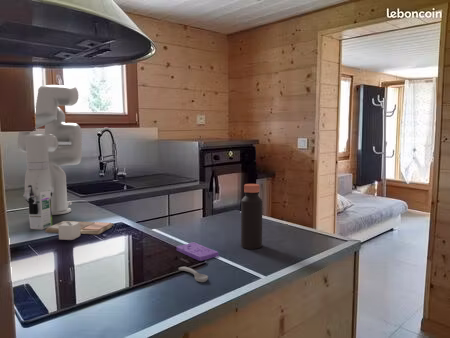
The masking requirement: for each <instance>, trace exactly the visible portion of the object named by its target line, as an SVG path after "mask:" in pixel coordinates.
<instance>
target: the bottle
mask: <svg viewBox="0 0 450 338" xmlns="http://www.w3.org/2000/svg"><path fill="white" fill-rule="evenodd" d="M260 187H261V186H260V184H259V183H258V184H257V183H245V184H244V185H243V194H244V196H243V198H242V199H241V201H240V246H241V247H242V248H244V249H247V250H257V249H261V248H262V247H263V199H262V198H261V197H260V196H259V194H260Z"/></svg>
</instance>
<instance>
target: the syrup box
mask: <svg viewBox="0 0 450 338" xmlns="http://www.w3.org/2000/svg"><path fill="white" fill-rule="evenodd" d="M33 196H34V195H33ZM32 199H33V200H34V198H32ZM36 204H37V205H38V214H29V213H28V217H29V228H30V229H31V230H42V231H43V230H45V229H47V228H48V227H50V226H52V225H54V224H53V215H52V208H51V194H50V190H48V191H44V192H40V193H39V196H38V198H37V202H36ZM27 205H28V207H29V204H28V203H27Z"/></svg>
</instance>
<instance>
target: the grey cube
mask: <svg viewBox="0 0 450 338" xmlns="http://www.w3.org/2000/svg"><path fill="white" fill-rule="evenodd" d="M80 222H81V221H77V222H66V223H63V224H61V225H58V227H59V233H58V240H61V241H62V240H65V241H66V240H67V241H72V240H75V239H77V238H79V237H81V234H80Z"/></svg>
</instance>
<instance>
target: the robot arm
mask: <svg viewBox="0 0 450 338" xmlns="http://www.w3.org/2000/svg"><path fill="white" fill-rule="evenodd" d="M78 99H79V91H78V88H77V87H76V86H74V85H60V84H59V85H58V84H47V85H41V86H40V87H39V88H38V89H37V95H36V103H35V108H36V129H38V128H41V127H43V126H44V133H32V132H19V131H18V134H17V140H16V141H17V148H18V149H19V151H20V152H22V153H25V154H26V155H25V156H26V157H25V158H26V171H25V175H24V193H23V195H22V196H23V197H24V199H25V201H26V202H27V205H28V204H29V206H28V215H29V214H38V205H37V204H36V202H37V198H38V196H39V193H40V192H44V191H48V190H50V194H51V208H52V216H56V215H58V216H59V215H65V214H68V213H70V212H72V208H70V207H69V206H71V205H72V204H73V201H72V200H68V195H67V194H68V192H67V189H68V188H67V174H66V172H65V170H63V168H62V167H61V166H75V165H79V164H80V163H81V162H82V155H83V154H82V152H83V151H82V150H83V147H82V146H83V143H82V142H83V135H82V128H81V126H80V125H79V124H78V123H74V122H67V123H66V114H65V112H64V111H63V109H62V108H60V107H59V106H62V107H63V106H65V107H66V106H67V107H68V106H74V105H76V104H77V102H78ZM33 195H34V196H33ZM32 198H34V200H33V199H32Z"/></svg>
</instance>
